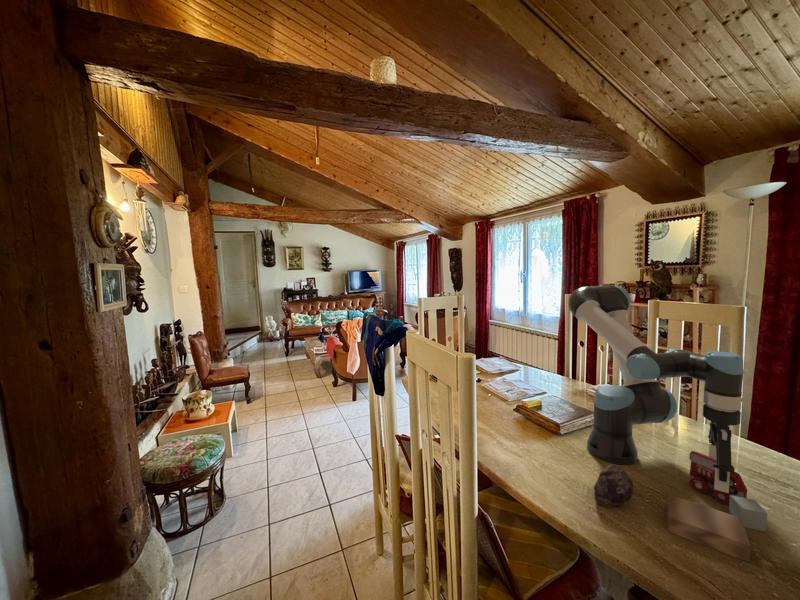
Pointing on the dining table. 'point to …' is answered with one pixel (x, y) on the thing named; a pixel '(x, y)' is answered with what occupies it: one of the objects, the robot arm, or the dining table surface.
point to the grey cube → (748, 512)
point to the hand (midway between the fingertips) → (717, 477)
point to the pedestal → (708, 527)
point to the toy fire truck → (713, 478)
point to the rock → (613, 487)
